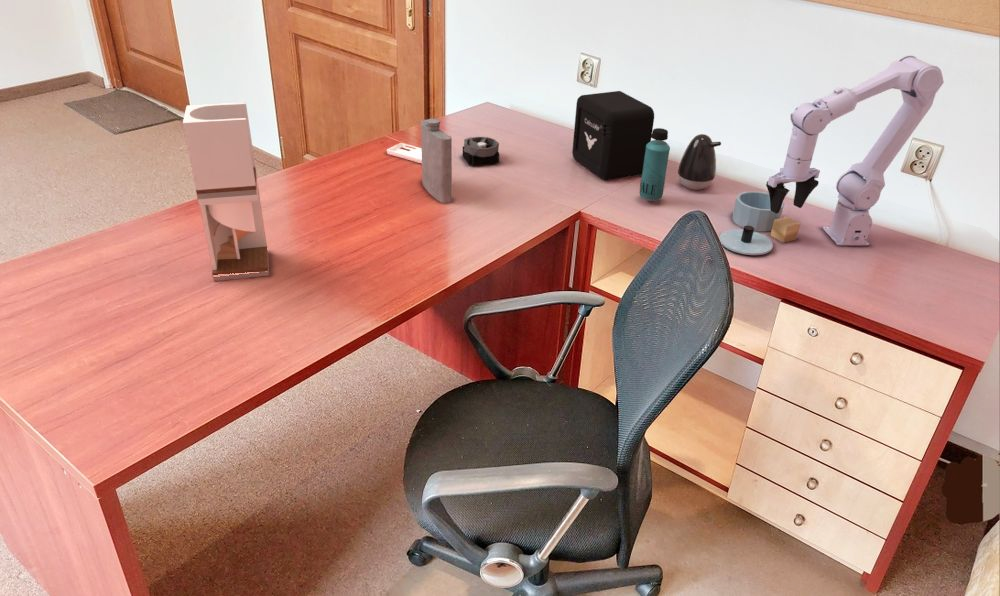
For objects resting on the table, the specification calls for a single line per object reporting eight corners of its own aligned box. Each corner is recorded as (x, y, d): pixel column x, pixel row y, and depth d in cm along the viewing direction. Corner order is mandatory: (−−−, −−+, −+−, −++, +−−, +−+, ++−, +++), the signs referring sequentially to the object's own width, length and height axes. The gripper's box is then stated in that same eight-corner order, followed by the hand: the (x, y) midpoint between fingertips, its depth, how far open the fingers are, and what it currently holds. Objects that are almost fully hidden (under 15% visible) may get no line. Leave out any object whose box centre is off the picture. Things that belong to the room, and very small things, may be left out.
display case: (213, 281, 163) (182, 122, 144) (215, 257, 171) (186, 105, 153) (268, 275, 165) (245, 119, 147) (268, 252, 174) (245, 102, 155)
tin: (787, 228, 193) (793, 207, 190) (748, 233, 190) (753, 212, 187) (761, 209, 203) (766, 189, 200) (723, 214, 199) (727, 193, 196)
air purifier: (567, 159, 229) (573, 93, 218) (609, 152, 234) (616, 88, 224) (602, 184, 213) (610, 115, 203) (646, 177, 219) (655, 109, 208)
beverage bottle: (661, 196, 208) (672, 126, 197) (663, 207, 202) (674, 134, 191) (637, 195, 208) (647, 124, 197) (638, 205, 202) (648, 133, 192)
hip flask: (453, 202, 200) (453, 129, 190) (439, 204, 199) (438, 131, 188) (431, 179, 212) (430, 109, 202) (417, 181, 211) (415, 111, 200)
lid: (782, 253, 182) (787, 236, 179) (737, 260, 178) (741, 242, 176) (752, 230, 192) (756, 213, 189) (708, 236, 188) (712, 219, 186)
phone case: (386, 153, 228) (426, 165, 221) (385, 149, 227) (426, 160, 220) (401, 146, 233) (441, 157, 227) (401, 142, 232) (440, 153, 226)
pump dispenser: (703, 197, 208) (714, 144, 200) (669, 187, 213) (678, 135, 205) (719, 185, 215) (729, 134, 207) (685, 176, 220) (694, 125, 212)
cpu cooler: (502, 146, 220) (469, 149, 217) (502, 165, 223) (468, 168, 220) (492, 134, 228) (459, 137, 226) (491, 152, 231) (459, 155, 229)
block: (796, 239, 188) (800, 223, 186) (783, 242, 186) (787, 226, 184) (783, 232, 192) (787, 216, 189) (770, 235, 190) (774, 219, 187)
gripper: (808, 146, 183) (795, 197, 190) (763, 154, 177) (751, 207, 184) (831, 156, 178) (817, 208, 185) (786, 165, 172) (772, 219, 179)
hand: (786, 209), depth 184 cm, fingers open, 7 cm apart
